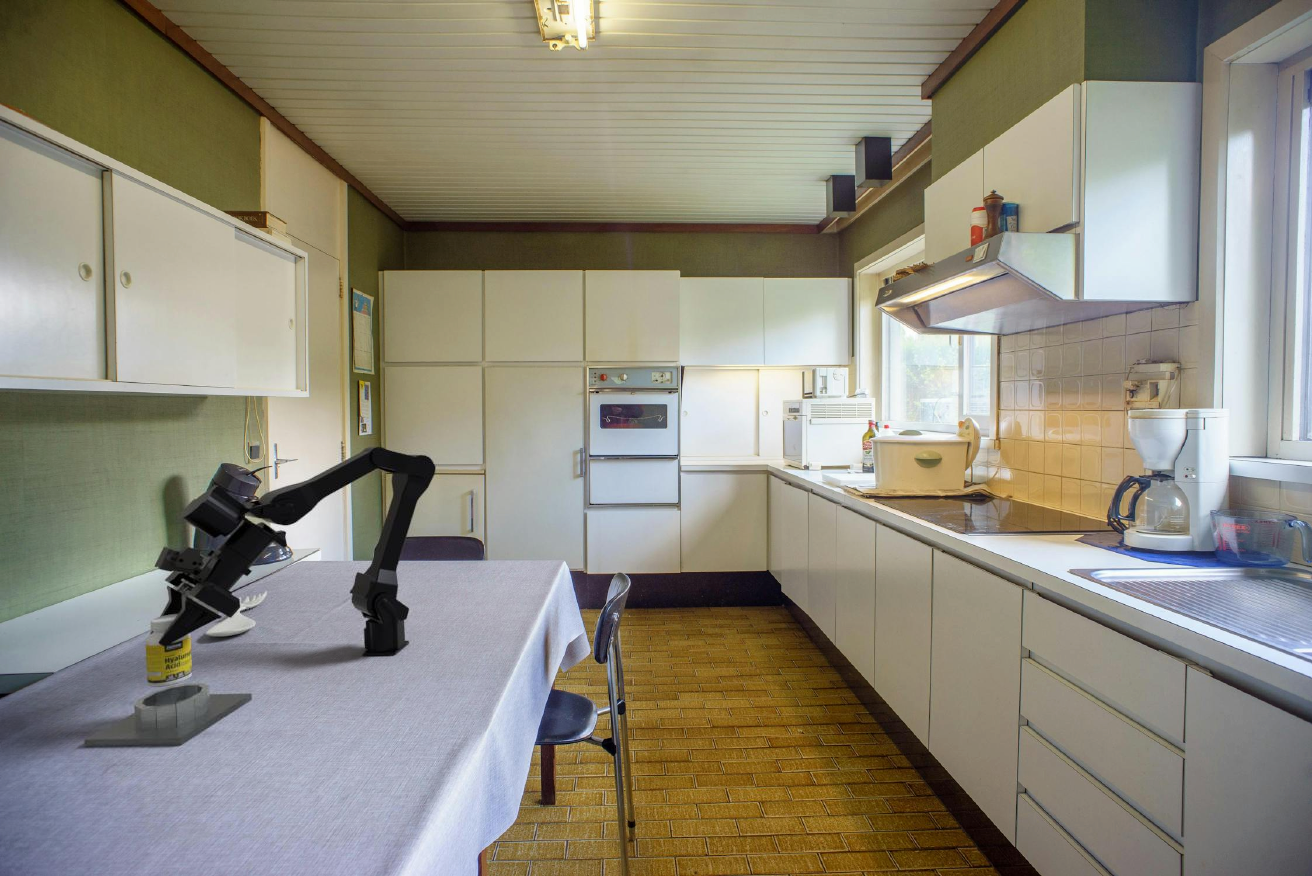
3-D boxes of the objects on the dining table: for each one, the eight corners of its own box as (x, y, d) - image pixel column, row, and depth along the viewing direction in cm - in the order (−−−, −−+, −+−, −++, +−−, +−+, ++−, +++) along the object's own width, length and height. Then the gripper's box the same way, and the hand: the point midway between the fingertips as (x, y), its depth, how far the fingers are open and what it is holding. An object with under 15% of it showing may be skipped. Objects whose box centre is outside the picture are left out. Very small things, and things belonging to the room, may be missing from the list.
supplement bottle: (166, 689, 90) (162, 624, 89) (138, 687, 91) (134, 623, 91) (201, 674, 95) (197, 612, 95) (174, 672, 96) (170, 611, 96)
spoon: (268, 601, 157) (268, 588, 157) (252, 638, 129) (251, 622, 129) (227, 607, 153) (226, 594, 153) (200, 647, 125) (199, 630, 125)
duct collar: (251, 699, 98) (250, 675, 98) (180, 745, 84) (179, 717, 84) (168, 700, 99) (167, 676, 99) (84, 746, 85) (83, 718, 85)
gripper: (177, 521, 101) (92, 603, 93) (209, 531, 89) (116, 626, 81) (235, 558, 108) (161, 638, 99) (273, 572, 96) (192, 664, 87)
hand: (156, 640), depth 92 cm, fingers closed on supplement bottle, 5 cm apart
